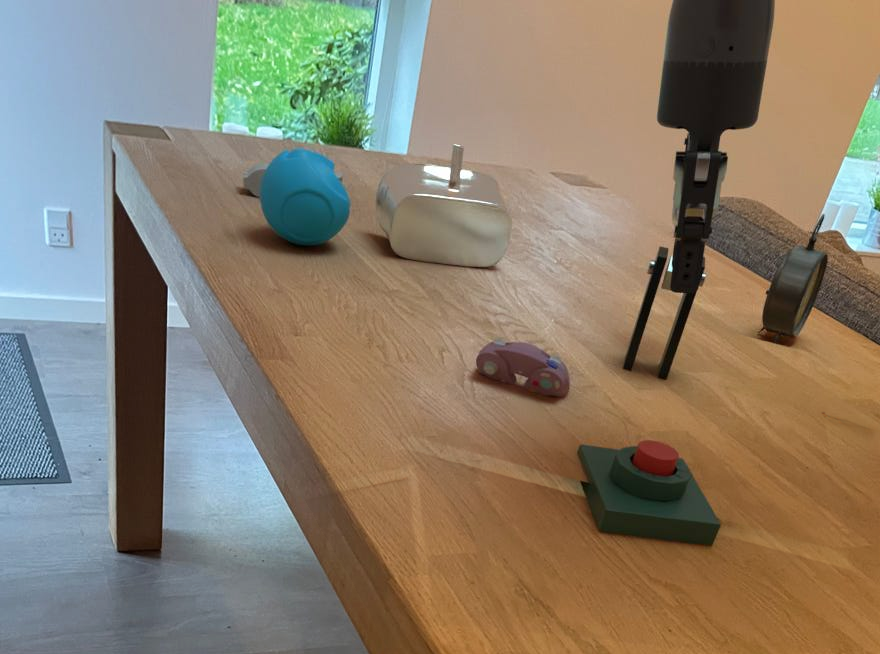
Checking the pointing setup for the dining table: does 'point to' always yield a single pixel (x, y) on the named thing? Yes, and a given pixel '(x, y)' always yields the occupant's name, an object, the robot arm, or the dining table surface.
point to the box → (645, 499)
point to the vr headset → (444, 214)
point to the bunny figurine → (255, 176)
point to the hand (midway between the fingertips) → (683, 280)
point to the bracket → (679, 322)
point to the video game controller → (524, 367)
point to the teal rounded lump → (303, 197)
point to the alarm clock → (794, 289)
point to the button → (655, 458)
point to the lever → (669, 266)
